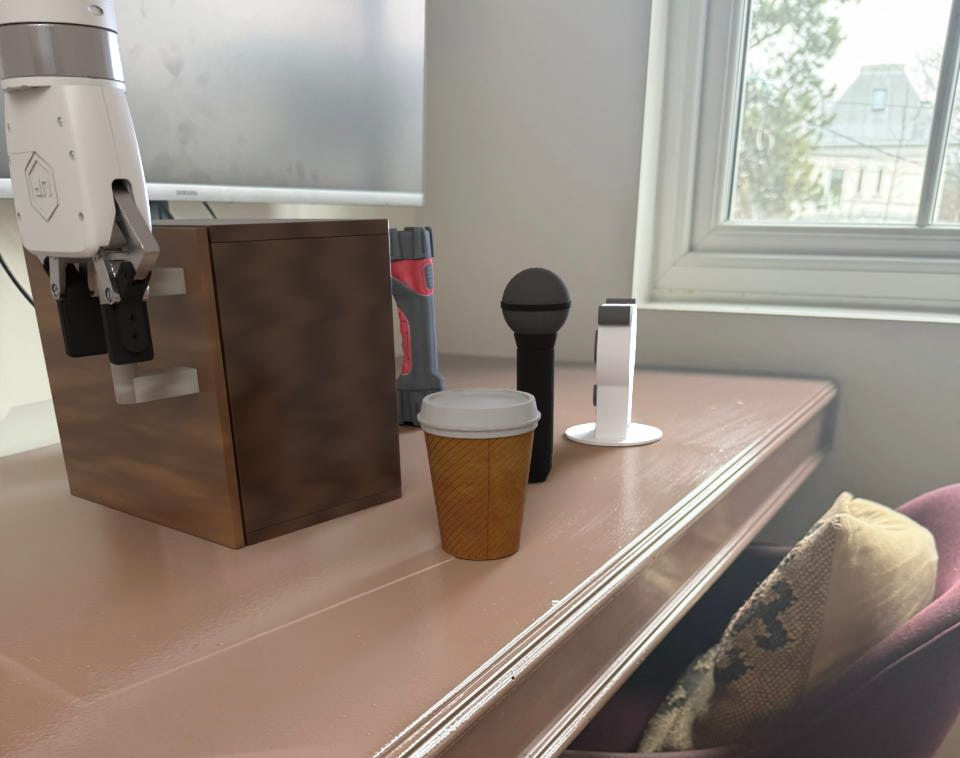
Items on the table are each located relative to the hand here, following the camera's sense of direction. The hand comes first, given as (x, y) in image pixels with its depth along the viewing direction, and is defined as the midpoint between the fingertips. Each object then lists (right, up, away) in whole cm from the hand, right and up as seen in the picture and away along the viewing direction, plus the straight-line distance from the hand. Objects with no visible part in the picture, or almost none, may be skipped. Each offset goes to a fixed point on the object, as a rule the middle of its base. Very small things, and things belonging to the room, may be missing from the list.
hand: (109, 356), depth 70 cm
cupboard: (+3, -6, +24) cm, 25 cm away
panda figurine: (+43, +4, +46) cm, 63 cm away
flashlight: (+18, +7, +54) cm, 58 cm away
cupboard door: (-5, -11, +15) cm, 19 cm away
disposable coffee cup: (+27, -13, +9) cm, 31 cm away
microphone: (+32, -4, +28) cm, 43 cm away
